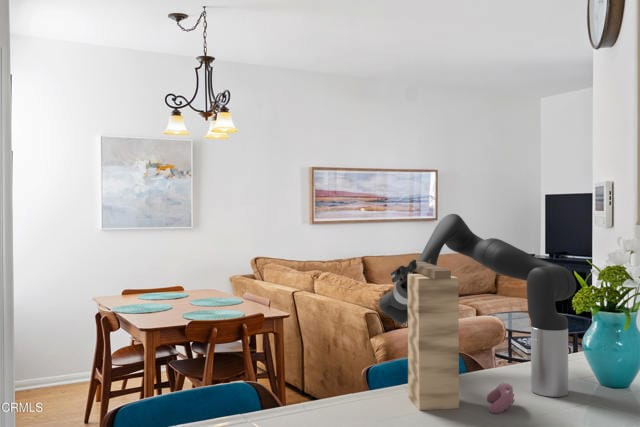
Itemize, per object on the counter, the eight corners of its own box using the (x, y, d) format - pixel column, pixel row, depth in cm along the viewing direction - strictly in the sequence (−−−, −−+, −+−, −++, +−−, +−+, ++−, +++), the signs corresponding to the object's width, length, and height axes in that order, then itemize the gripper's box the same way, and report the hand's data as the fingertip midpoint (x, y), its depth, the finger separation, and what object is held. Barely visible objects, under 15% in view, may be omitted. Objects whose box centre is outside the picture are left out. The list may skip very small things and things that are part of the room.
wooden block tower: (407, 397, 157) (407, 274, 157) (445, 395, 159) (445, 273, 158) (419, 410, 147) (418, 278, 147) (459, 408, 149) (458, 277, 148)
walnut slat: (409, 269, 166) (409, 262, 166) (423, 269, 167) (423, 261, 166) (434, 279, 144) (434, 270, 144) (450, 278, 145) (450, 270, 145)
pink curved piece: (506, 421, 144) (519, 395, 143) (488, 411, 145) (501, 386, 144) (501, 407, 154) (514, 383, 153) (484, 398, 154) (497, 374, 154)
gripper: (382, 276, 176) (395, 250, 161) (430, 274, 177) (447, 249, 163) (385, 300, 172) (399, 276, 157) (434, 298, 174) (452, 275, 159)
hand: (423, 262), depth 160 cm, fingers closed on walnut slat, 4 cm apart
